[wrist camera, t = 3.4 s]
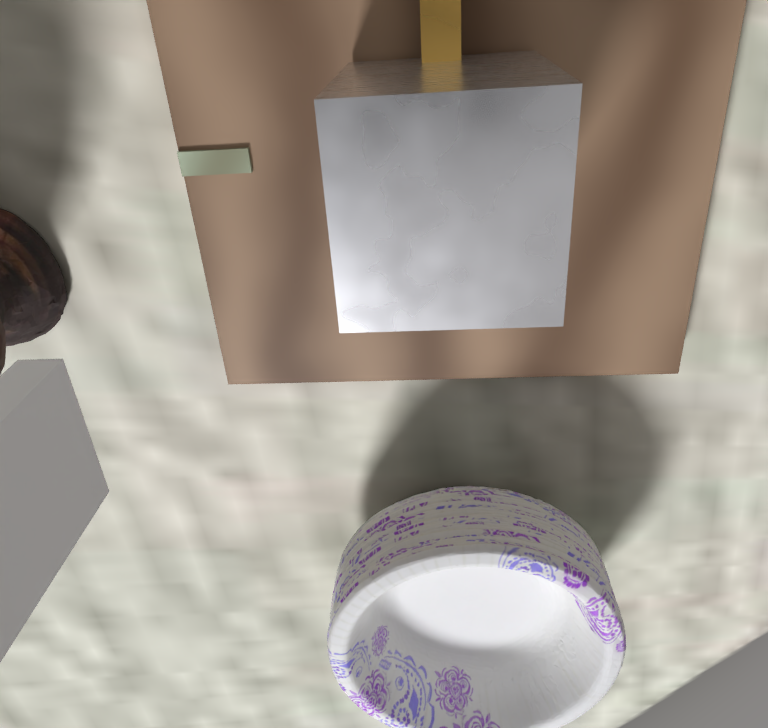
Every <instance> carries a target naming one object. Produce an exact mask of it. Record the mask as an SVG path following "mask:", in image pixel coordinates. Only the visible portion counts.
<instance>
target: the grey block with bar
mask: <svg viewBox="0 0 768 728" xmlns="http://www.w3.org/2000/svg"><path fill="white" fill-rule="evenodd" d="M420 24H421V54H422V58H409V59H394V60H378V61H363V62H349V63H348V64H347V65H346V66H345V67H344V68H343V69H342V70H341V71H340V72H339V74H338V75H337V76H336V77H335V78H334V79H333V80H332V81H331V82H330V83H329V84H328V85H327V86H326V87H325V88H324V89H323V90H322V91H321V93H320V94H319V95H318V96H317V97H316V98H315V99H314V106H315V115H316V125H317V134H318V143H319V152H320V161H321V170H322V179H323V188H324V197H325V206H326V215H327V224H328V233H329V243H330V252H331V261H332V270H333V279H334V288H335V297H336V306H337V315H338V324H339V333H364V332H397V331H430V330H463V329H496V328H529V327H563V324H564V312H565V299H566V286H567V274H568V261H569V248H570V236H571V223H572V211H573V198H574V185H575V173H576V160H577V147H578V135H579V122H580V109H581V97H582V84H583V83H581V82H580V81H578V80H577V79H575V78H574V77H572V76H571V75H569V74H568V73H567V72H565V71H564V70H562V69H561V68H559V67H558V66H556V65H555V64H554V63H552V62H551V61H549V60H548V59H546V58H545V57H543V56H542V55H540V54H539V53H538V52H536V51H535V50H533V51H518V52H502V53H487V54H471V55H461V0H420Z"/></svg>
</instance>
